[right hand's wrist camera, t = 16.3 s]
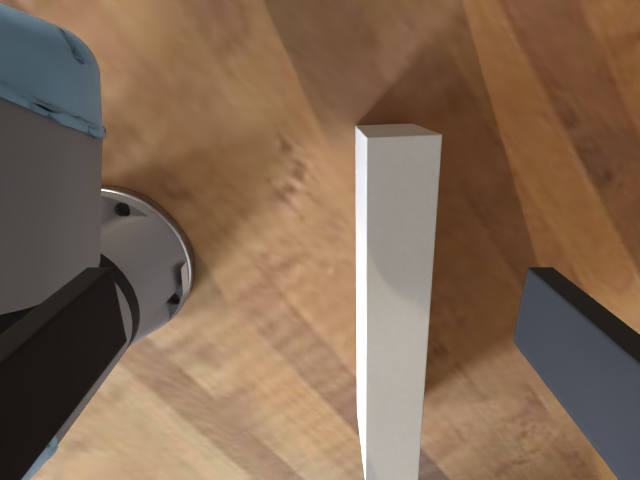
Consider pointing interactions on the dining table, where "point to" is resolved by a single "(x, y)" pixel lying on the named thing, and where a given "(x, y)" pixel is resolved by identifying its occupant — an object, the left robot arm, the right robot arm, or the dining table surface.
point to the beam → (394, 290)
